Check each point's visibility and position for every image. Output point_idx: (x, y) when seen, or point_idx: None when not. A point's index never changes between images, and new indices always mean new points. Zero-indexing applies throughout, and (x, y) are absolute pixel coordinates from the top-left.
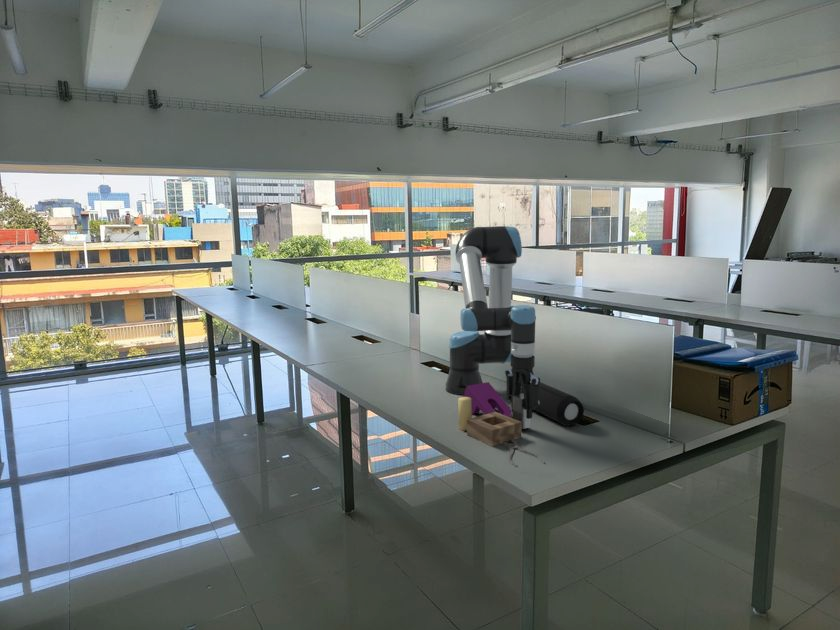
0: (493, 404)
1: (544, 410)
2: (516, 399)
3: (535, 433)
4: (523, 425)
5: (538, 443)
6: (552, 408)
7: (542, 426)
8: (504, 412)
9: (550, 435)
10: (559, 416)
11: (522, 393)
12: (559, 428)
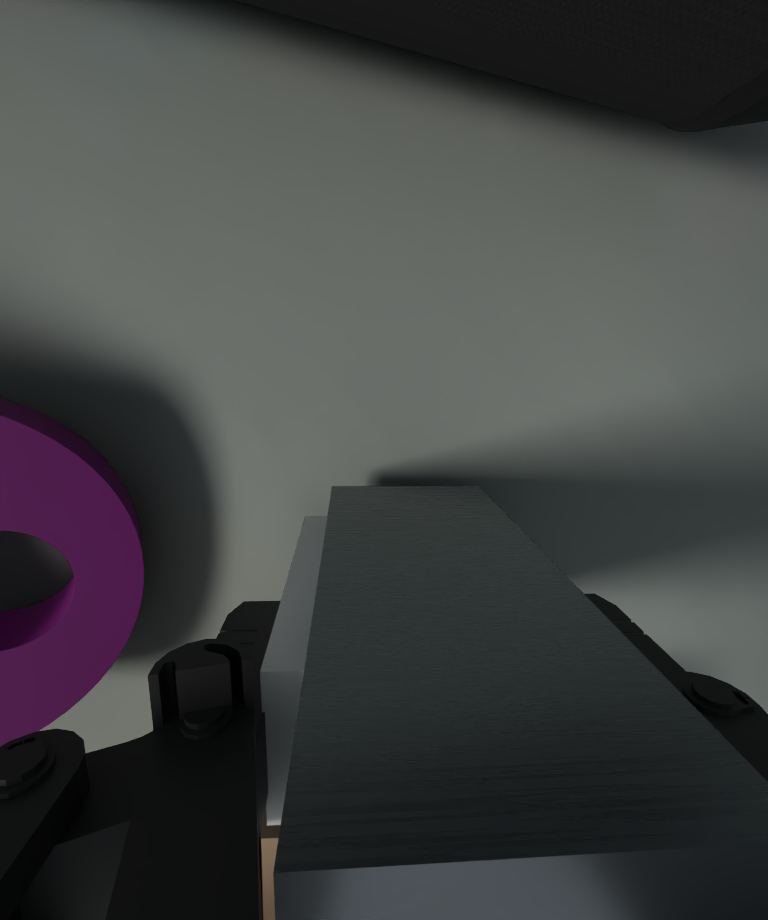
0: None
1: (368, 29)
2: None
3: (569, 517)
4: None
5: (730, 657)
6: (657, 26)
7: (488, 309)
8: (16, 529)
9: (700, 441)
10: (765, 119)
11: (297, 877)
12: (654, 200)
